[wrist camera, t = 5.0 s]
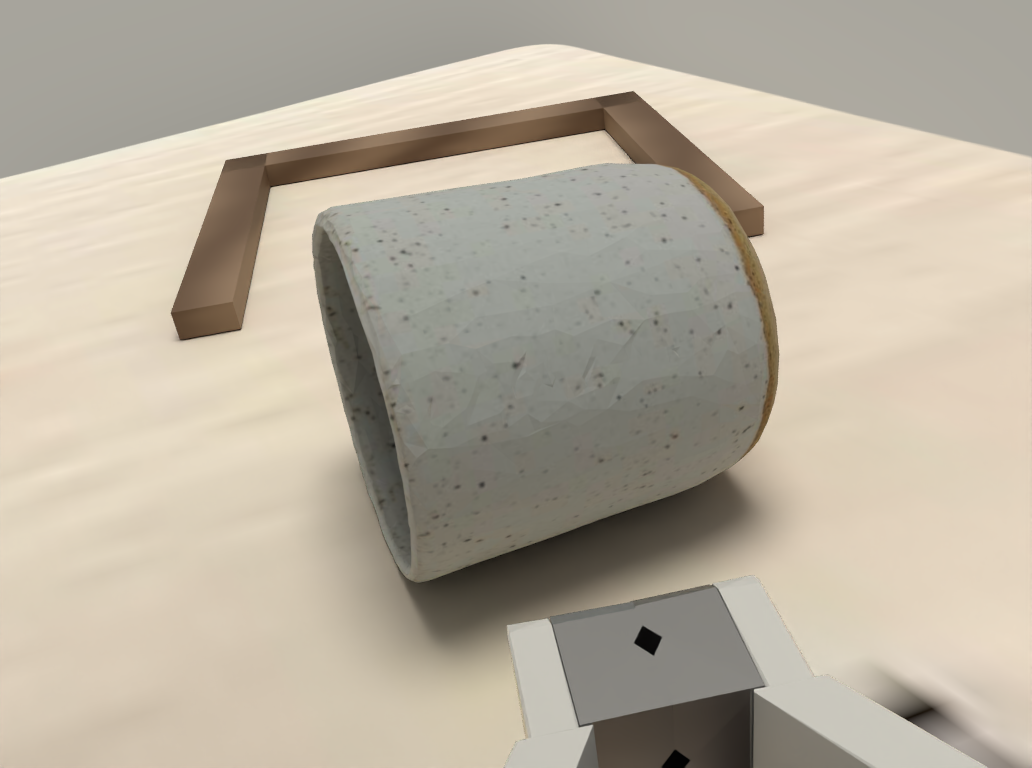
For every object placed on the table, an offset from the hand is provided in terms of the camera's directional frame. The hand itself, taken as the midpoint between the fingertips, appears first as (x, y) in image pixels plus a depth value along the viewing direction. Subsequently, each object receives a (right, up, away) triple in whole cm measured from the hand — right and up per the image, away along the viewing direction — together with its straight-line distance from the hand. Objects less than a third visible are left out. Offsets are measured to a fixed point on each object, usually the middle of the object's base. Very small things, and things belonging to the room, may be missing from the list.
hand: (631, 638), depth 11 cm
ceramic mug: (-1, +1, +12) cm, 12 cm away
